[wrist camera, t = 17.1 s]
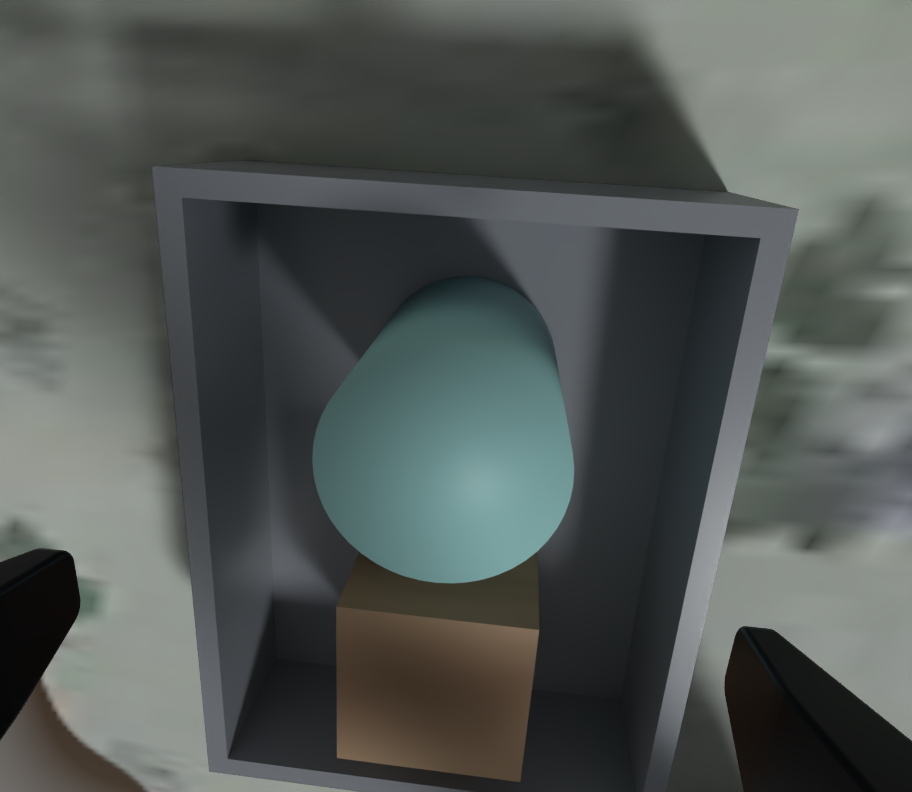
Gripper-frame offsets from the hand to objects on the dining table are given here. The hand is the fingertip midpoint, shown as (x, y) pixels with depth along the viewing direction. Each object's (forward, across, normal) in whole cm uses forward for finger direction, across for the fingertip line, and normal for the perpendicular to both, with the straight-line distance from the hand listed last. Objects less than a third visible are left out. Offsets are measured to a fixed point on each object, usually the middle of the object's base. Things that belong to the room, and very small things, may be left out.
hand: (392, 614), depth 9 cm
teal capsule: (+11, 0, 0) cm, 11 cm away
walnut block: (+11, 0, +8) cm, 13 cm away
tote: (+12, 0, +4) cm, 12 cm away
